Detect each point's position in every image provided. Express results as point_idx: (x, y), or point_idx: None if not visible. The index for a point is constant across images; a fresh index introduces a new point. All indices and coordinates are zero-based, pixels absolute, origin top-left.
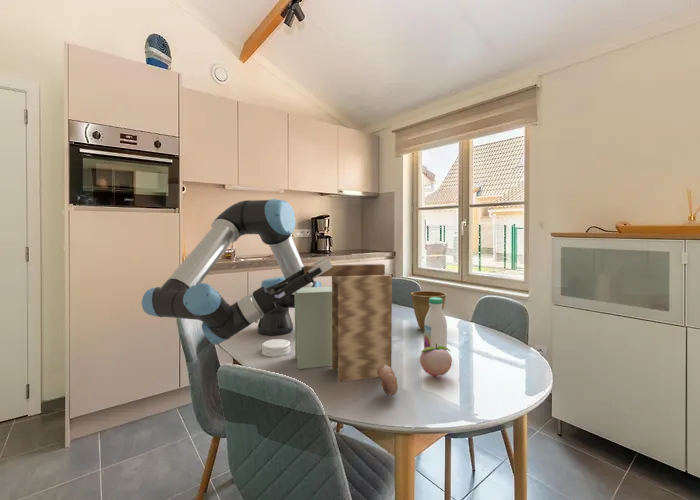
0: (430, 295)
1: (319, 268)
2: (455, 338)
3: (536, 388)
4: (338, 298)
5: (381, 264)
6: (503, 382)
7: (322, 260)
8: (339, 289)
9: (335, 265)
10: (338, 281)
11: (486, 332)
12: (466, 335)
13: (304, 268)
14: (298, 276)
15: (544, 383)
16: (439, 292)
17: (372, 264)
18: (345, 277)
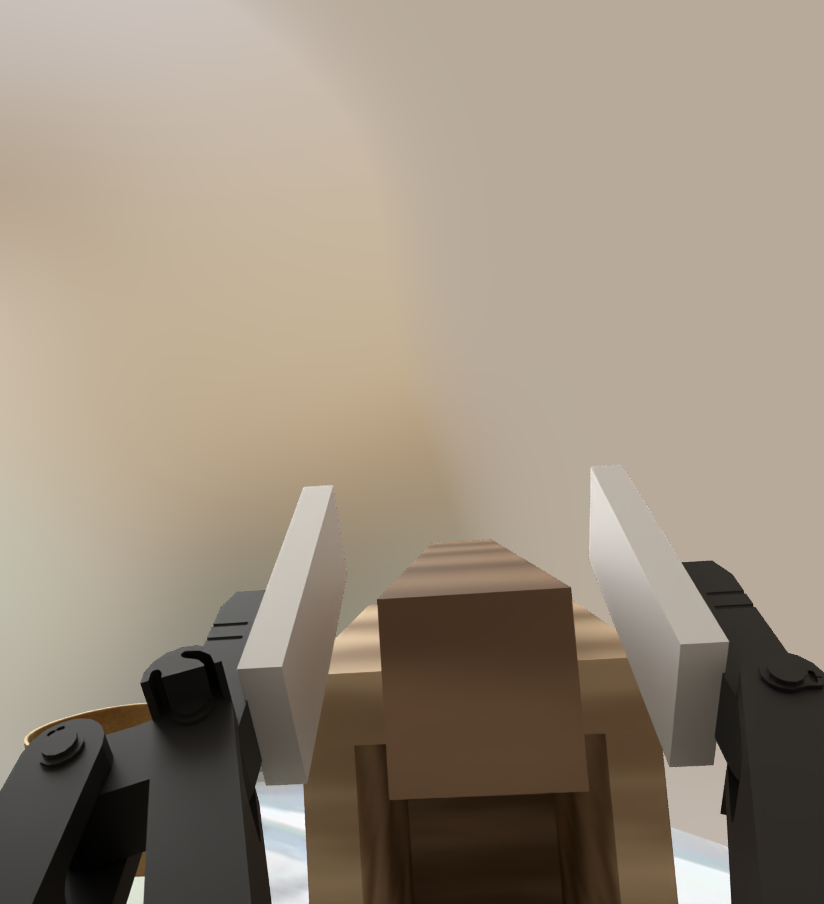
0: None
1: (717, 572)
2: (269, 858)
3: (716, 854)
4: (657, 887)
5: (478, 540)
6: (680, 891)
7: (331, 522)
8: (664, 780)
9: (478, 557)
10: (640, 700)
11: (275, 793)
12: (264, 830)
13: (422, 647)
14: (259, 882)
15: (680, 833)
16: (118, 707)
17: (465, 543)
18: None
